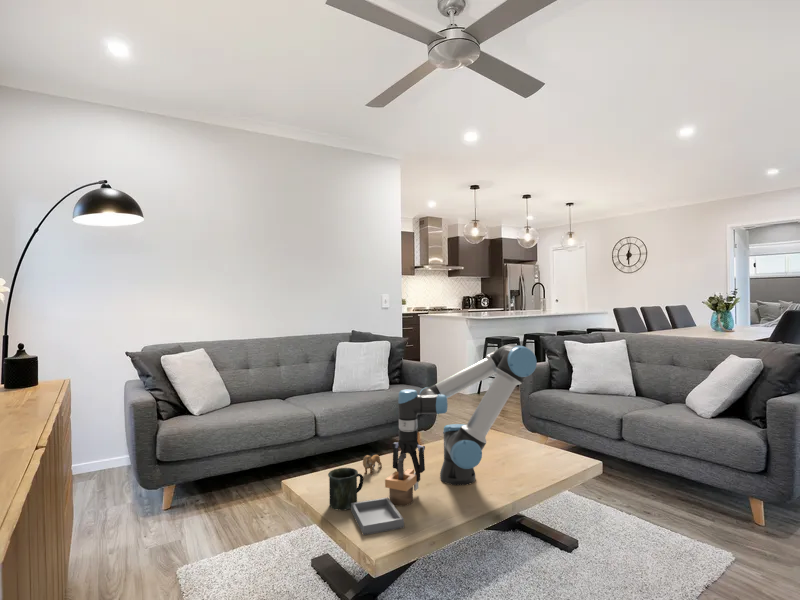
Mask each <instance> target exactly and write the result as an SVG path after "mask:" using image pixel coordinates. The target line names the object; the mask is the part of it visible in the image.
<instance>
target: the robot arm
mask: <svg viewBox="0 0 800 600" xmlns="http://www.w3.org/2000/svg"><path fill="white" fill-rule="evenodd" d="M537 363H538V362H537V357H536V355H535V353H534V352H533V350H531V349H530V348H528V347H526V346H524V345H519V344H514V343H509V344H505V345H502V346H501V347H499V348H497V349H495V350H494V351H492V352H490V353H488V354H486V357H485V358H483V359H482V360H479V361H478V362H476V363H474V364H472V365H469V366H468V367H466V368H464V369H462V370H460V371H458V372H456V373H455V374H453V375H451V376H448V377H447V378H445V379H443V380H441V381H439V382H437V383H436V384H433V385H431V386H429V387H428V386H426V387H424V388H422V389H421V390H420V391H419V394H418V391H417V390H416V389H411V388H410V389H401V390H400V391H399V392H398V402H397V404H398V405H397V406H398V408H397V409H398V429H399V430H398V441H397V442H396V441H395V442H393V443H392V444H391V447H392V468H393V469H396V472H398V458H399V456H400V455H402V454H403V453H405V454H406V455H407V454H409V456H410V457H411V461H412V465H413V469H414V475H416V479H417V483H416V484H415V485H413V492H414V491H417V490H418V489H419V482H420V481H421V474H423V472H425V471H426V466H425V449H426V446H425V445H420V444H419V442H418V438H419V437H418V436H419V435H418V432H419V431H418V427H419V426H418V415H440V414H441V415H442V414H446V413H447V412H448V399H449V398H451V397H452V396H454V395H456V394H458V393H460V392H462V391H463V390H464V391H465V390H466V389H467V388H469V387H471V386H474V385H475V384H477V383H480V382H482V381H484V380H485V379H488V378H489V377H491V376H493V375H495V377H494V379H493V380H492V382H491V383H490V386H489V387H488V389H487V390H486V392H485V394H484V395H483V397H482V398H481V400H480V402H479V404H478V405H477V406H476V409H475V410H474V412H473V414H472V415H471V417H470V419H469V421H468V422H467V423H466V424H461V423H455V424H454V423H451V424H447V425H444V427H443V431H442V432H443V463H442V466H441V469H440V473H439V479H440V481H441V482H443V483H445V484H447V485H451V484H452V486H466V485H467V484H468V485H471V484H473V483H474V482H476V472H475V469H474V468H476V467H477V466H479V464H480V462H481V460H482V458H483V449H484V448H485V446H486V444H487V440H486V437H487V435H488V434H489V432H490V430H491V428H492V427H493V426H494V423H495V422H496V420H497V419H498V417H499V415H500V413H501V411H502V409H503V408H504V407H505V405H506V403H507V402H508V400H509V398H510V396H511V395H512V393H513V392H514V390H515V388H516V386H519V385H522V384H523V382H524V381H525V379H526V378H527V377H529V376H531V375H533V373H534V372H535V371H536V368H537V365H538V364H537ZM399 449H400V454H399ZM417 450H418V455H417ZM404 462H405V459H404V460H403V463H404ZM403 470H404V471H405V469H404V468H403ZM470 483H471V484H470Z"/></svg>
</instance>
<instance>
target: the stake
mask: <svg viewBox="0 0 800 600" xmlns="http://www.w3.org/2000/svg"><path fill="white" fill-rule="evenodd" d="M406 458H407V453H406V454H405V453H403V454H402V455H400V454H399V455H398V480H403V481H404V471H405V469H404V462H403V460H404V461H405V459H406ZM403 469H404V470H403ZM388 489H389V490H388V491H389V493H388V494H389V497H388V498H389V500H390V501H391V502H392V504H393V505H394V506H395V507H396V506H398V507H405V506H410V505H411V504H412V503H413V502H414V485H413V486H412V487H411V488H410V489H409V490H408V491H402V490H396V489H391V488H388Z"/></svg>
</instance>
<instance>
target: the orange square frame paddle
mask: <svg viewBox="0 0 800 600" xmlns="http://www.w3.org/2000/svg"><path fill="white" fill-rule="evenodd" d="M414 473H415V469H414V468H407V469H406V470H404V481H403V480H398V472H397V471H394V472H393V473H392V474H390V475H389V476H387V477H386V478H385V479H384V488H388V489H389V488H391V489H396V490H402V491H408V490H409V489H410V488H411V487H412V486H413V487H414V485H415V484H416V483H417V479H416V475H414Z"/></svg>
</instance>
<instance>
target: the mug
mask: <svg viewBox="0 0 800 600" xmlns="http://www.w3.org/2000/svg"><path fill="white" fill-rule="evenodd" d="M327 476H328V478H329V479H328V481H329V482H328V483H329V489H328V490H329V492H328V493H329V507H330V508H331V509H332V510H336V511H347V510H351V503H355V502H358V493H359V492H360V491H362V488H363V485H364V475H362V473H359V472H358V470H357V469H355V468H352V467H339V468H334V469H332V470H330V471H329V472H328V474H327ZM357 477H359V484H358V478H357Z"/></svg>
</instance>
